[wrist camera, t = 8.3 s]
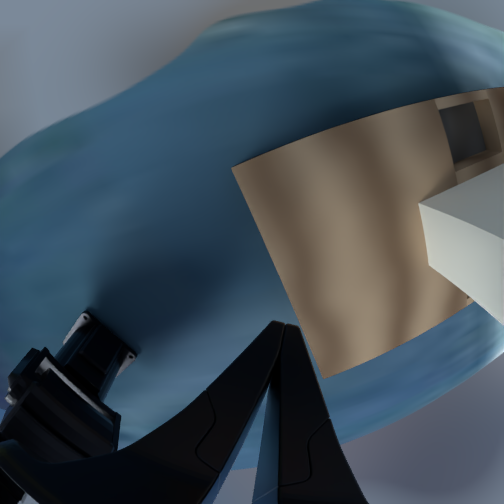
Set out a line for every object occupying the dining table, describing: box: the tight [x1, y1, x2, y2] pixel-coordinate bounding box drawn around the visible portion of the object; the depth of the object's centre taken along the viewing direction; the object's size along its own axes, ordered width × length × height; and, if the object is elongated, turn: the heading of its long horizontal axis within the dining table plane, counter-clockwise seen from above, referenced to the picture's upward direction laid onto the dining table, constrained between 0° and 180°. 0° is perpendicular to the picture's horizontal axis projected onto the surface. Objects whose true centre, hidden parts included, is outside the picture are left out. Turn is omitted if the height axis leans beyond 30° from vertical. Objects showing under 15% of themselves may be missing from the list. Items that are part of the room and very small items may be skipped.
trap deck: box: [231, 87, 504, 379], centre depth 16 cm, size 26×18×6 cm
